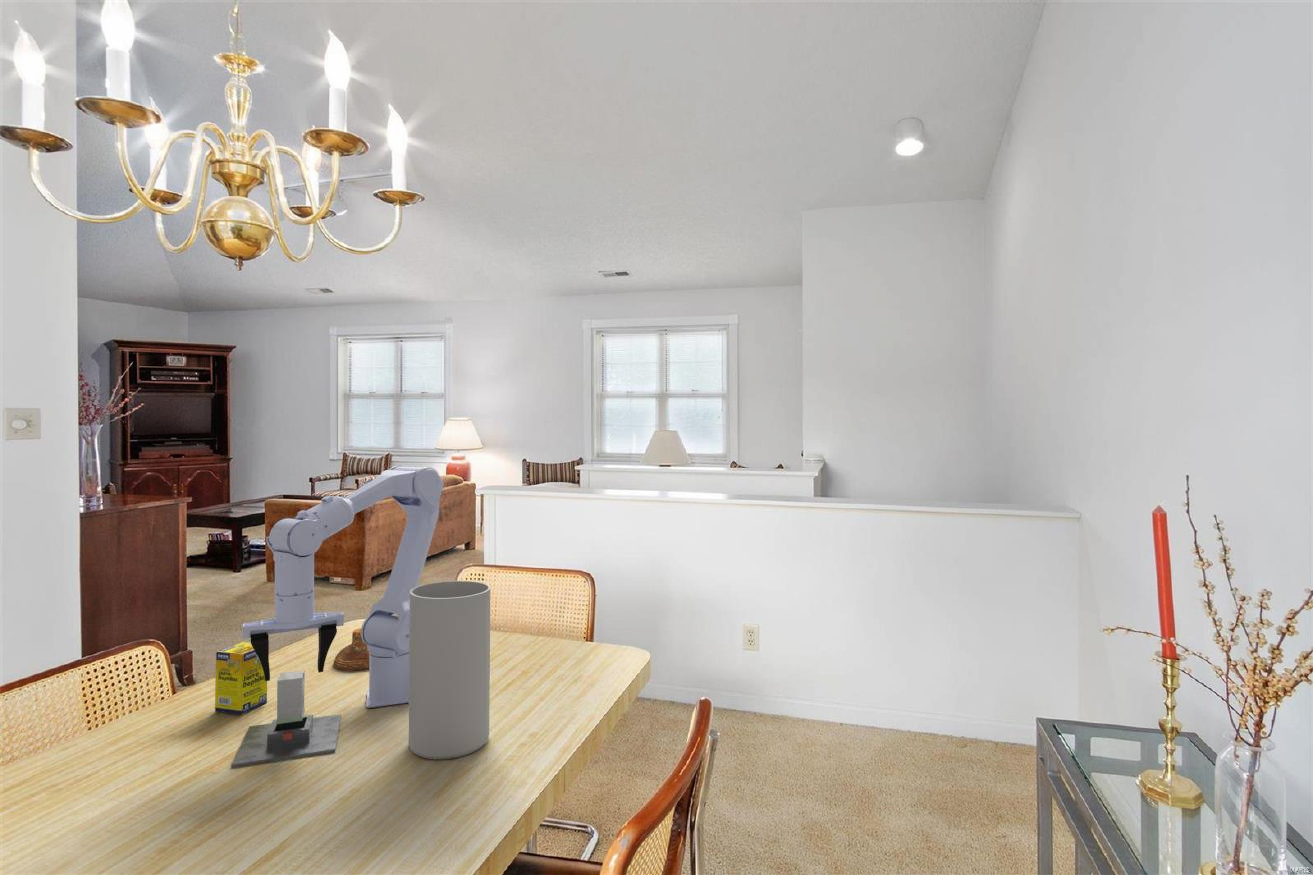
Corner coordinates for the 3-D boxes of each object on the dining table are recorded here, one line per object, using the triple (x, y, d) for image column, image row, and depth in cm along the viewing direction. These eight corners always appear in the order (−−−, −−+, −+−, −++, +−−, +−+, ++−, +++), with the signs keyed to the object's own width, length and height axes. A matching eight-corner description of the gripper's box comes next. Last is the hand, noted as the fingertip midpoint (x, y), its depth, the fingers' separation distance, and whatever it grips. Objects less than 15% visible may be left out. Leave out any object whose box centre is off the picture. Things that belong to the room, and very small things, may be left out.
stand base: (341, 716, 118) (341, 702, 118) (335, 752, 105) (335, 735, 105) (249, 729, 113) (249, 713, 113) (231, 767, 100) (231, 750, 100)
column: (304, 712, 111) (304, 670, 111) (302, 720, 108) (302, 678, 108) (280, 715, 110) (280, 673, 110) (276, 724, 107) (276, 680, 107)
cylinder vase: (503, 732, 113) (505, 584, 112) (458, 767, 101) (460, 601, 101) (441, 721, 117) (442, 578, 117) (391, 753, 105) (392, 594, 105)
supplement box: (241, 715, 118) (242, 654, 118) (213, 712, 120) (214, 651, 120) (268, 702, 124) (268, 643, 124) (241, 699, 125) (241, 641, 125)
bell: (372, 650, 155) (372, 619, 155) (402, 661, 148) (403, 628, 148) (322, 664, 145) (322, 630, 145) (352, 676, 138) (352, 641, 138)
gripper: (340, 582, 117) (340, 659, 117) (243, 592, 110) (242, 674, 110) (345, 590, 111) (344, 672, 111) (242, 601, 104) (242, 689, 104)
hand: (294, 674), depth 110 cm, fingers open, 7 cm apart
